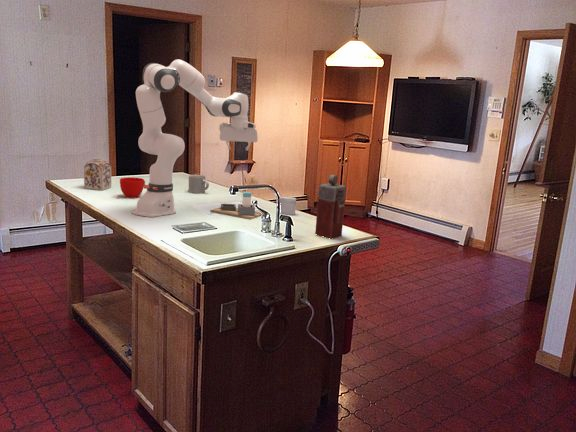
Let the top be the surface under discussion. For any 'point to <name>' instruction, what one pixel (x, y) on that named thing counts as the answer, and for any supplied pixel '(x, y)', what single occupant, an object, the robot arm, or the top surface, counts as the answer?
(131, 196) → the ceramic cup
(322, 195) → the brown rectangular canister
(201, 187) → the coffee mug
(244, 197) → the plug
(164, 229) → the top surface
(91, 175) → the decorative jar
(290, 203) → the medicine box
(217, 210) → the board
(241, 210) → the block
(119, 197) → the top surface
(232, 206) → the holster
